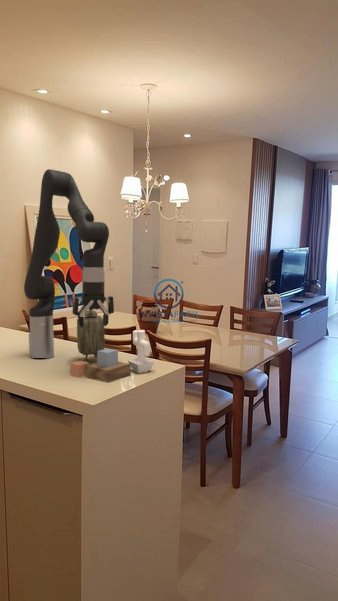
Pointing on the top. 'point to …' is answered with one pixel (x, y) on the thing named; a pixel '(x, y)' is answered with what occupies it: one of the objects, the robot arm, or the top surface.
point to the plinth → (108, 371)
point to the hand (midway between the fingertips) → (93, 326)
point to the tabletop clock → (91, 334)
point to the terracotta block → (78, 368)
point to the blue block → (107, 357)
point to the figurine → (141, 353)
